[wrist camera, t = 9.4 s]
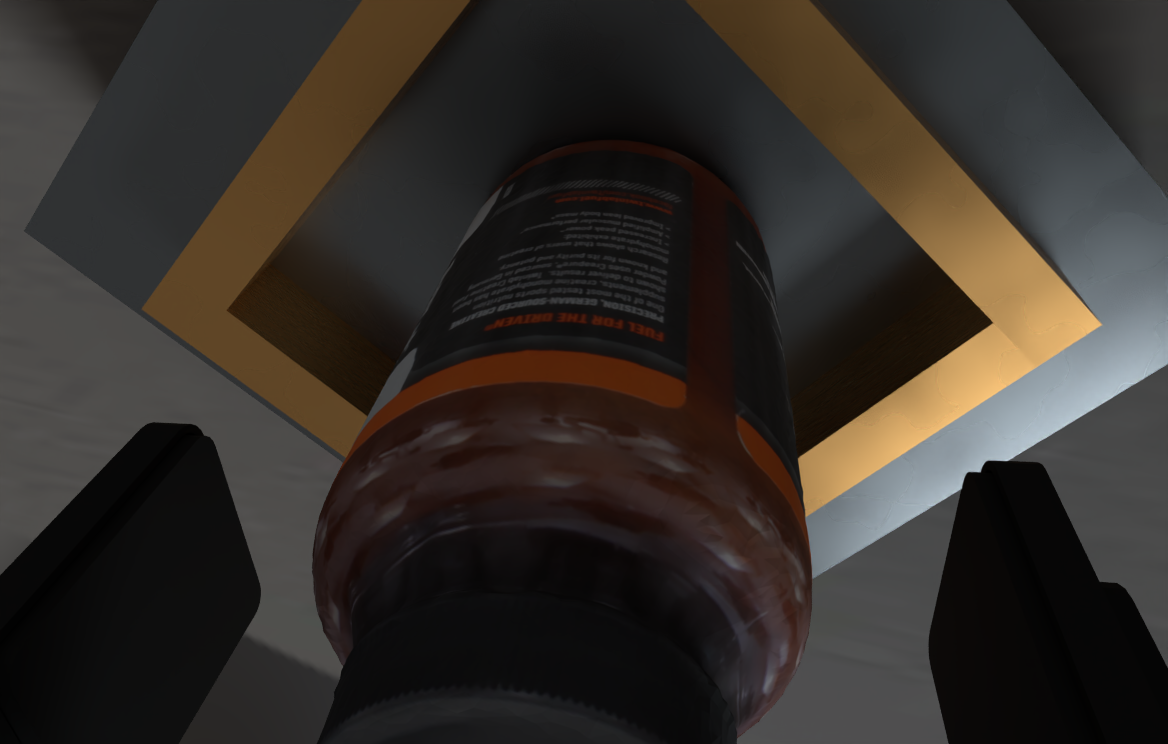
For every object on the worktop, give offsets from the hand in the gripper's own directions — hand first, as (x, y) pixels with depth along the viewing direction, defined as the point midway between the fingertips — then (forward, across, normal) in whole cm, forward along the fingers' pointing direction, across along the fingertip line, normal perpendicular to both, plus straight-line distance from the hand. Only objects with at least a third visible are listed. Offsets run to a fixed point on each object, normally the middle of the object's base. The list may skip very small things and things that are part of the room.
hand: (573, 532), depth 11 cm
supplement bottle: (+8, 0, 0) cm, 8 cm away
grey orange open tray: (+12, +2, -2) cm, 13 cm away
